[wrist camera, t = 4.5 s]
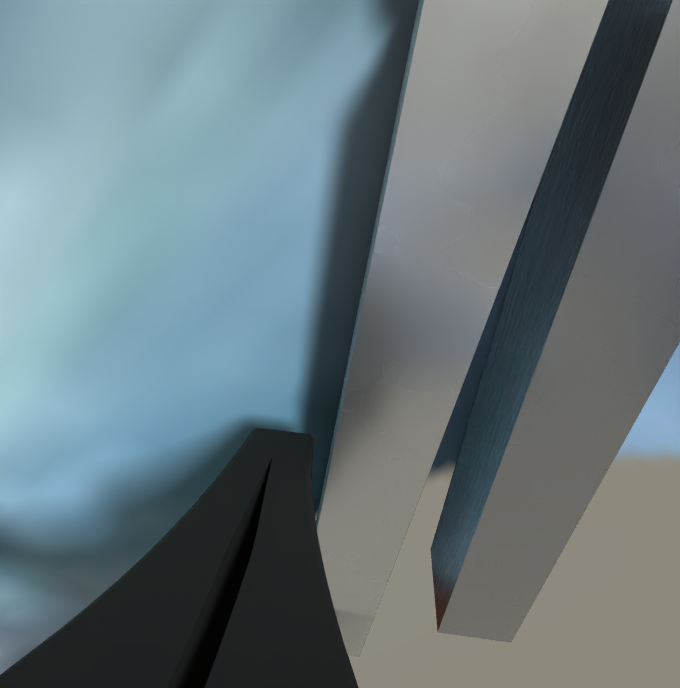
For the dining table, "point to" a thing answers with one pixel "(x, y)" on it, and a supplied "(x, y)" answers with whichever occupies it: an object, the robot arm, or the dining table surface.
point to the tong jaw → (439, 262)
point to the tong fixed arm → (571, 329)
